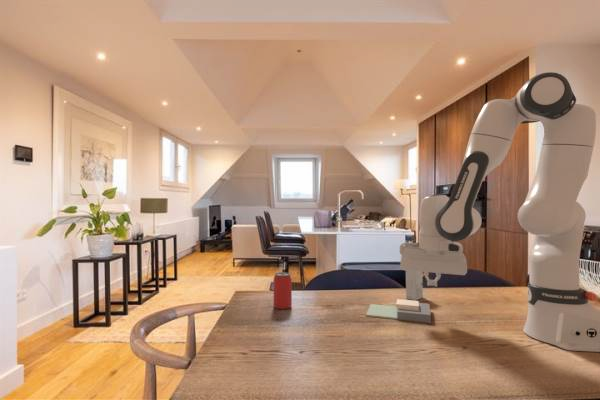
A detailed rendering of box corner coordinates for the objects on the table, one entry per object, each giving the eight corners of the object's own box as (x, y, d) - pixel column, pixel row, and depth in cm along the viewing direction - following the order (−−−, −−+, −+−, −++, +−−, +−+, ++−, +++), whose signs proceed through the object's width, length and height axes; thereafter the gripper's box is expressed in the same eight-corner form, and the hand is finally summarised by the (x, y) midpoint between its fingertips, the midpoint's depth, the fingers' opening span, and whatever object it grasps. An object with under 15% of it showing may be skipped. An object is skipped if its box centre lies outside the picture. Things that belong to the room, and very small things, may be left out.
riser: (429, 311, 113) (429, 303, 113) (430, 323, 101) (430, 315, 101) (399, 308, 116) (399, 301, 116) (397, 319, 105) (397, 311, 105)
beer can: (292, 304, 121) (292, 272, 121) (290, 310, 115) (290, 276, 115) (275, 304, 122) (275, 271, 122) (272, 309, 115) (271, 275, 116)
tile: (418, 305, 111) (418, 300, 111) (418, 310, 106) (418, 306, 106) (397, 303, 114) (397, 299, 114) (396, 308, 108) (396, 304, 108)
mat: (399, 308, 116) (399, 306, 116) (397, 319, 105) (397, 317, 105) (370, 305, 120) (370, 303, 120) (365, 316, 108) (365, 314, 108)
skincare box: (416, 300, 125) (415, 269, 125) (405, 298, 128) (404, 267, 128) (423, 297, 129) (423, 266, 129) (412, 295, 132) (412, 265, 132)
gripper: (399, 243, 107) (398, 284, 108) (468, 247, 101) (467, 291, 101) (400, 240, 113) (399, 280, 114) (465, 244, 107) (464, 286, 107)
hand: (432, 285), depth 107 cm, fingers closed
